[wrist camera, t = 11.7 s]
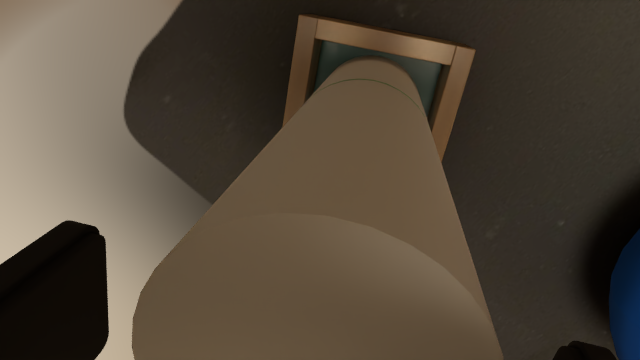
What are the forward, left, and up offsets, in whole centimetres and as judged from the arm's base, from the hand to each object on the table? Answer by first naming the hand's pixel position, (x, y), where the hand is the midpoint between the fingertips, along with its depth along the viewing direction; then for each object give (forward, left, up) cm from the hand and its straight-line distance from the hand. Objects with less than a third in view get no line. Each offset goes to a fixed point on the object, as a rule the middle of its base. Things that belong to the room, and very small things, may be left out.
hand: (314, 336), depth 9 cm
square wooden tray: (0, 0, -25) cm, 25 cm away
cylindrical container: (0, 0, -24) cm, 24 cm away
